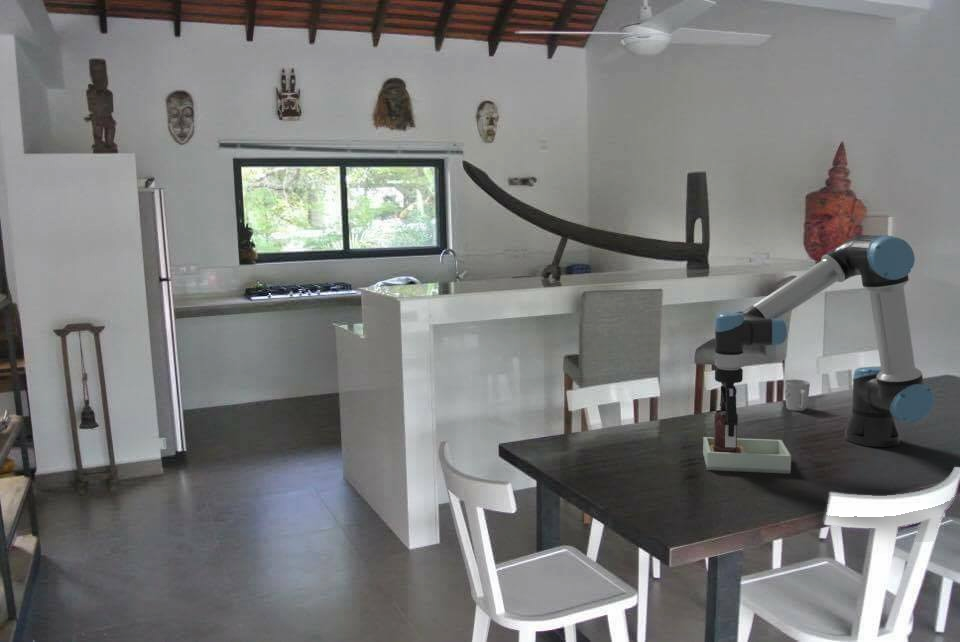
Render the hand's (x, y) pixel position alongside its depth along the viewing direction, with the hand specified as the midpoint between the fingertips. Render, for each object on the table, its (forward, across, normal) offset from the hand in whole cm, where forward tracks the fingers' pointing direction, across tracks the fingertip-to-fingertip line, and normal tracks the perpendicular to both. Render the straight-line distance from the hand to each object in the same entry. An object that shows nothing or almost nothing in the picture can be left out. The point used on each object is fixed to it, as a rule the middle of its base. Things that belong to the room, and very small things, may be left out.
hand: (727, 439), depth 215 cm
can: (+6, 0, 0) cm, 6 cm away
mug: (+7, -62, +31) cm, 70 cm away
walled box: (+7, 0, +5) cm, 8 cm away
